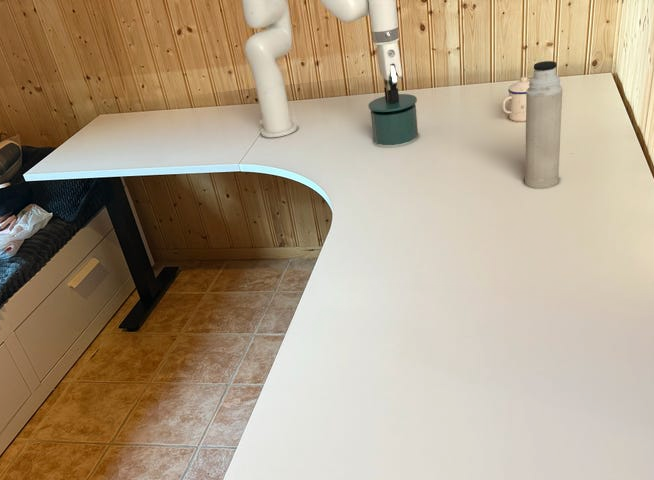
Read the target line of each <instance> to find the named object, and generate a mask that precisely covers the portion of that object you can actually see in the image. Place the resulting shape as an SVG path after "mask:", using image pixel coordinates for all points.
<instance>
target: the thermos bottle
mask: <svg viewBox="0 0 654 480" xmlns="http://www.w3.org/2000/svg"><path fill="white" fill-rule="evenodd" d="M556 67H557V62H556V61H554V60H553V61H552V60H544V61H539V62H536V63H535V64H533V77H531V78H530V79H529V80H530V84H529V87H530V88H528V89H527V91H526V121H525V148H524V149H525V155H524V156H525V157H524V159H525V161H524V162H525V163H524V183H525V185H526V186H528V187H531V188H535V189H537V188H538V189H541V188H544V189H545V188H549V187H553V186H555V185H556V184H557V183H558V182H559V174H560V154H561V153H560V151H561V129H562V109H563V107H562V106H563V86H561V85H560V84H561V78H560V76H558V75H557V69H556Z"/></svg>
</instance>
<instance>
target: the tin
mask: <svg viewBox="0 0 654 480" xmlns="http://www.w3.org/2000/svg"><path fill="white" fill-rule="evenodd" d="M417 118H418V115H417V105H416V103H415V104H414V105H412V106H410V107H408V108H405V109H401V110H397V111H391V112H376V111H372V110H370V119H371V127H372V135H373V142H374V143H375V144H377V145H381V146H397V145H402V144H405V143H409V142H412V141H413V140H415V139H416V138H417V137H418V136H419V129H418V119H417Z"/></svg>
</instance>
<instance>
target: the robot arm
mask: <svg viewBox="0 0 654 480" xmlns="http://www.w3.org/2000/svg"><path fill="white" fill-rule="evenodd" d="M319 1H320V3H321V4H322V5H323V7H324V8H325V9H326V10H327V11H328V12H329V13H330V14H332V15H333V16H334V17H335V18H336V19H337V20H339V21H341V22H343V23H348V24H351V23H353V22H355V21H357V20H361V19H362V18H364V17H367V16H369V19H370V27H371V28H370V29H371V35H372V44H373V45H376V53H377V63H378V64H377V65H378V71H379V74H380V75H381V77H382V79H383V86H384V87H383V88H384V96H385V100H386V101H388V103H389V104H394V103H398V102H399V94H400V93H399V86H398V78H399V79H402V77H403V70H402V62H401V61H402V60H401V55H400V48H399V44H398V41H399V40H400V32H399V20H398V9H397V0H319ZM241 5H242V12H243V17H244V20H245V23H246V24H247V26H248V27H249V28H251V29H253V30H259V29H263V28H266V29H264V30H261V31H259V32H256V33H254V34H252V35H251V36H250V37H249V38H248V39H247V40H246V42H245V45H244V55H245V58H246V60H247V63H248V65H249V68H250V71H251V73H252V76H253V77H252V78H253V81H254V85H255V89H256V95H257V98H258V104H259V109H260V112H261V119H259V121H258V122H259V124H261V125H262V126H263V128H262V129H261V130H260V134H261V136H262V137H264V138H279V137H284V136H288V135H290V134H293V133H294V132H296V130H297V129H298V124H297V123H296V122H293V121H292V117H291V116H292V115H291V111H290V107H289V106H290V105H289V100H288V96H287V92H286V86H285V81H284V76H283V73H282V70H281V69H280V67H279V66H278V64H277V62H276V61H278V60H280V59H282V58H283V57H285V56H287V55H288V54H289V53H290V52H291V50H292V45H293V35H292V26H291V25H292V24H291V19H290V10H289V4H288V1H287V0H241ZM386 85H388V90H386ZM387 95H388V100H387Z"/></svg>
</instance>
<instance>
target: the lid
mask: <svg viewBox="0 0 654 480" xmlns="http://www.w3.org/2000/svg"><path fill="white" fill-rule="evenodd" d="M386 90H388V85H386ZM398 94H399V102H398V103H394V104H389V103H388V101H386V100H385V95H384V96H380V97H378V98H375V99H373V100H372V101H370V102H369V103H368V105H367V106H368V109H369V110H370V111H371V110H372V111H376V112H391V111H397V110H401V109H405V108H408V107H410V106H412V105H414V104H415V105H416V103H417V102H418V98H417V96H416V95H413V94H408V93H398ZM387 100H388V95H387Z"/></svg>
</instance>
